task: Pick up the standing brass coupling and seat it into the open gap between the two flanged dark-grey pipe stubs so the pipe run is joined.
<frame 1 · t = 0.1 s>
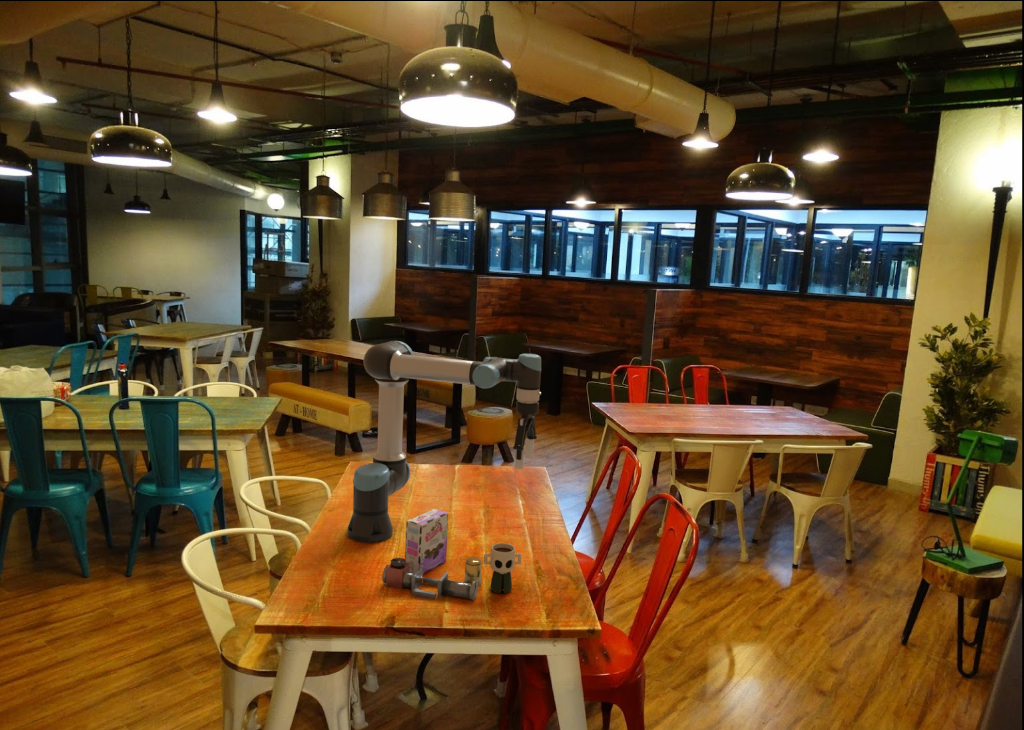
hand: (524, 463, 234), 28 cm above the table, fingers open, 13 cm apart
character mug: (500, 590, 203), on the table
candy box: (425, 567, 216), on the table
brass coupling: (472, 583, 207), on the table
pipe run: (429, 590, 200), on the table
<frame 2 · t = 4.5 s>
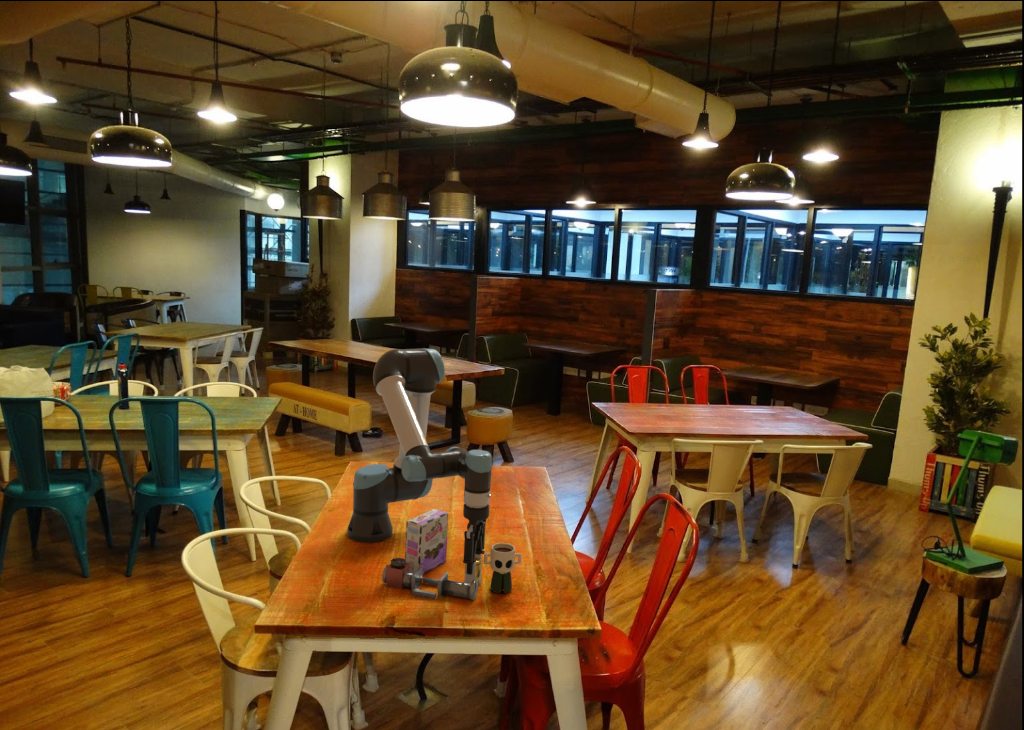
hand: (473, 579, 206), 1 cm above the table, fingers closed on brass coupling, 5 cm apart
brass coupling: (472, 583, 207), on the table, touching gripper
everything else where it was.
when the fingers open (3 cm above the table, at t = 8.6 s): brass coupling drops 2 cm, resting in pipe run.
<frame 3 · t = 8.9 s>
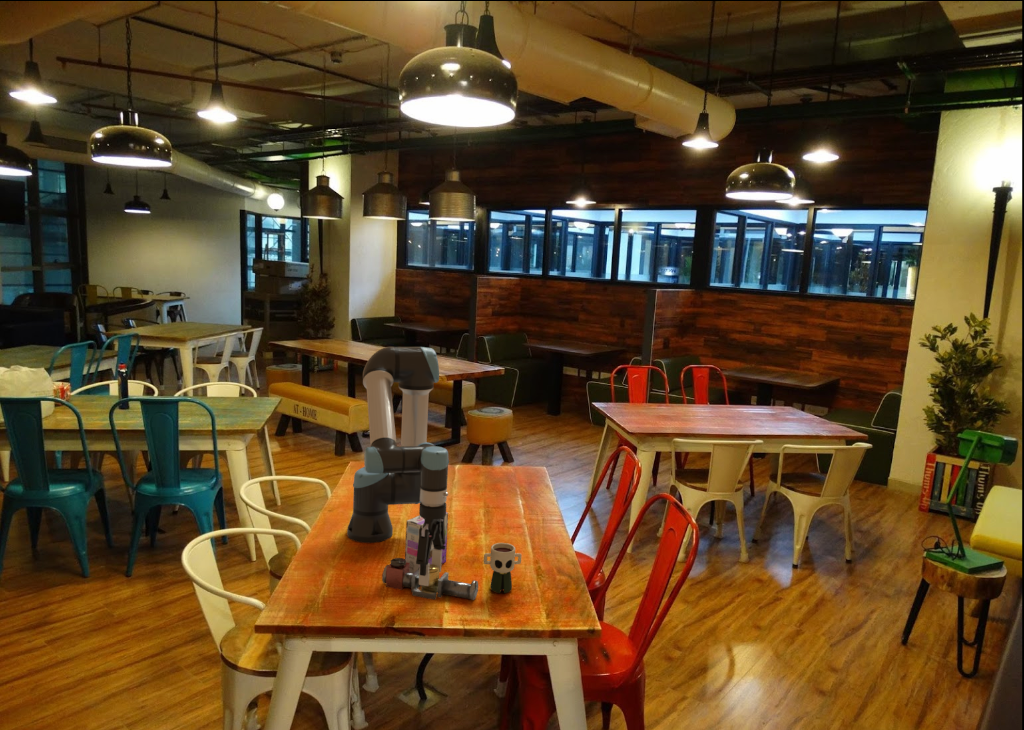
hand: (430, 577, 200), 4 cm above the table, fingers open, 9 cm apart
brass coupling: (429, 590, 201), resting in pipe run
everything else where it was.
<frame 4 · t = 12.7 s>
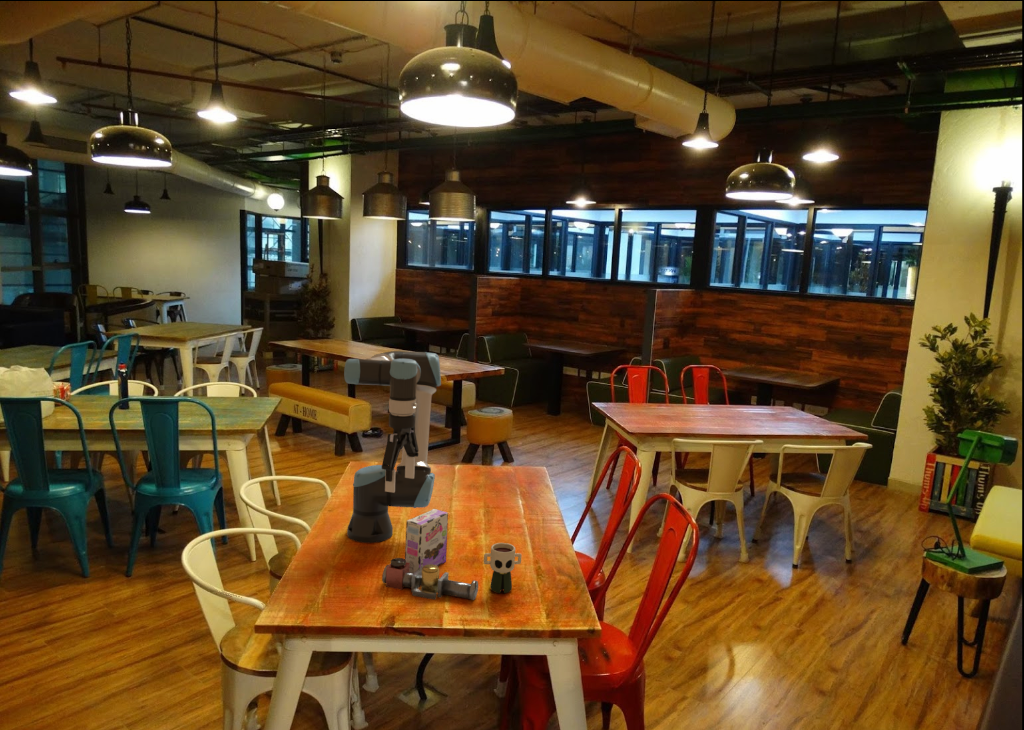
hand: (400, 484, 203), 29 cm above the table, fingers open, 13 cm apart
nothing on the table moved.
at the end: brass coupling 0.1 cm off-centre on the pipe run, point 0.0 cm above the pipe run's base; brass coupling tilted 0°; the gripper is holding nothing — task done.
